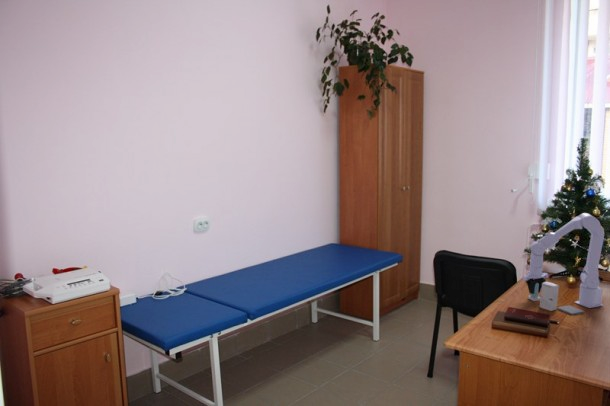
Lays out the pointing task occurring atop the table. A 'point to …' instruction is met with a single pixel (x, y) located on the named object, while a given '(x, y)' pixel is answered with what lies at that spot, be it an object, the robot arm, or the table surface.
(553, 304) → the skincare box
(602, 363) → the table surface
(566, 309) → the rubber mat
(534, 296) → the pusher tool
